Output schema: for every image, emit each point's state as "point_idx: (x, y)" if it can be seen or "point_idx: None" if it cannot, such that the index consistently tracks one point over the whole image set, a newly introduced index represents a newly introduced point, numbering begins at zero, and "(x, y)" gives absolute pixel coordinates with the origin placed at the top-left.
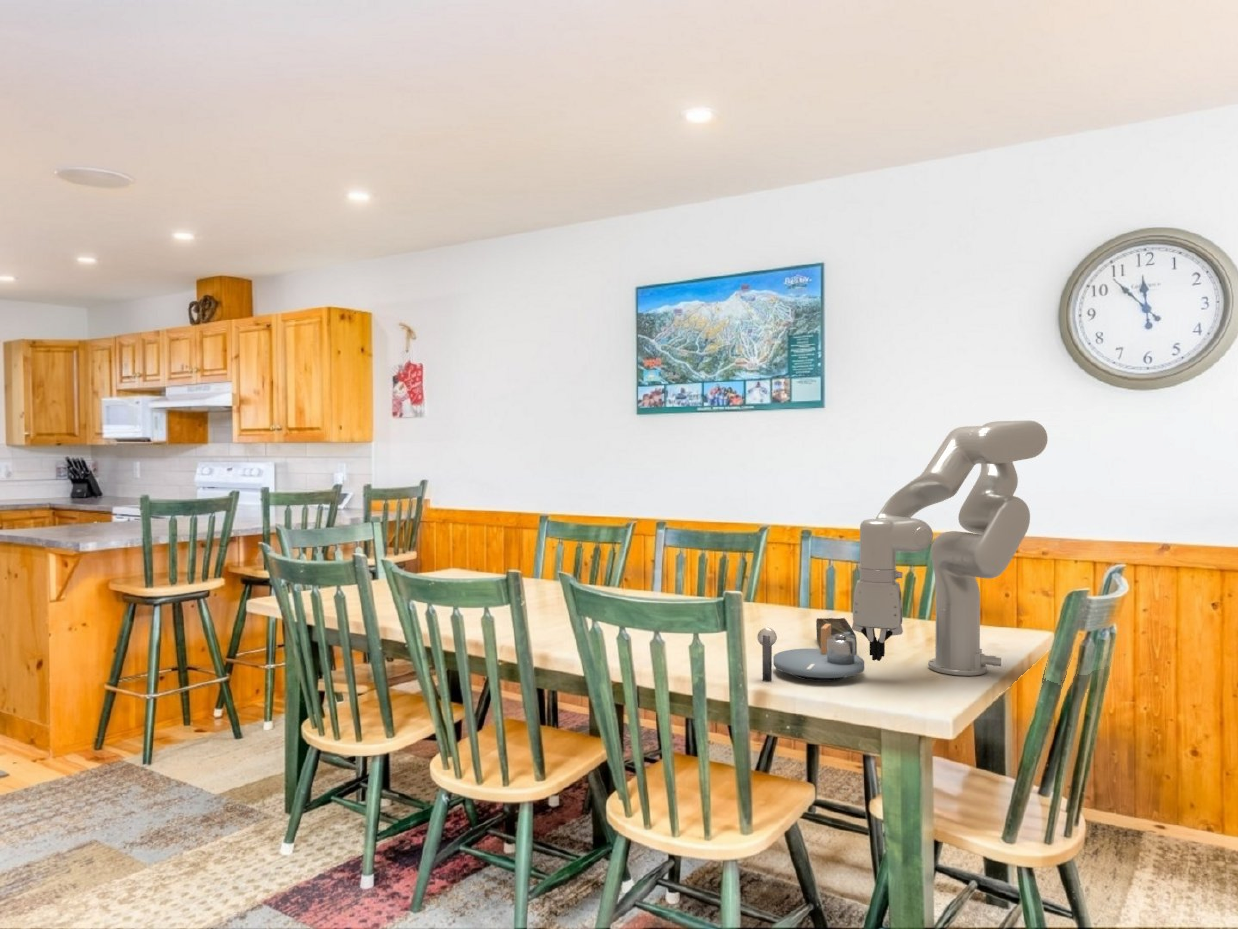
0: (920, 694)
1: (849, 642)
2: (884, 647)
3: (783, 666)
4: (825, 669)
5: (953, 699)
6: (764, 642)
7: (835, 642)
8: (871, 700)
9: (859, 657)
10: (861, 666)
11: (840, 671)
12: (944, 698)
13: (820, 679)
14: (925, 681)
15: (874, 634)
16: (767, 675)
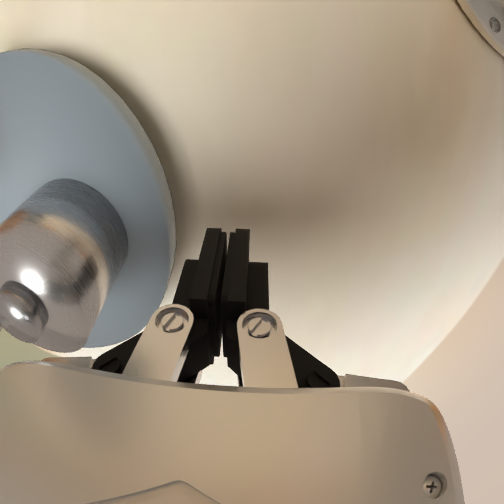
0: (379, 302)
1: (85, 342)
2: (267, 295)
3: None
4: (92, 336)
5: (446, 308)
6: None
7: (44, 345)
8: None
9: (111, 121)
10: (169, 263)
11: (132, 333)
12: (429, 309)
13: None
14: (422, 156)
15: (187, 352)
16: None
